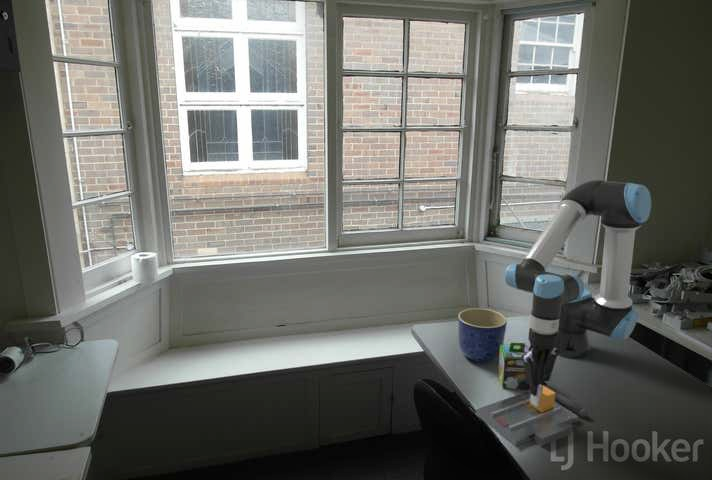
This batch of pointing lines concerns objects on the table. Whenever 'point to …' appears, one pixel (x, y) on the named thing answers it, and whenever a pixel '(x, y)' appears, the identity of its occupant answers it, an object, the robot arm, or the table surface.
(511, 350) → the chalk box
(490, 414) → the breaker panel
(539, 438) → the grey bar
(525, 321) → the table surface
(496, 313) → the planter
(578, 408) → the dark grey rod
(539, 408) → the block
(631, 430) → the table surface
